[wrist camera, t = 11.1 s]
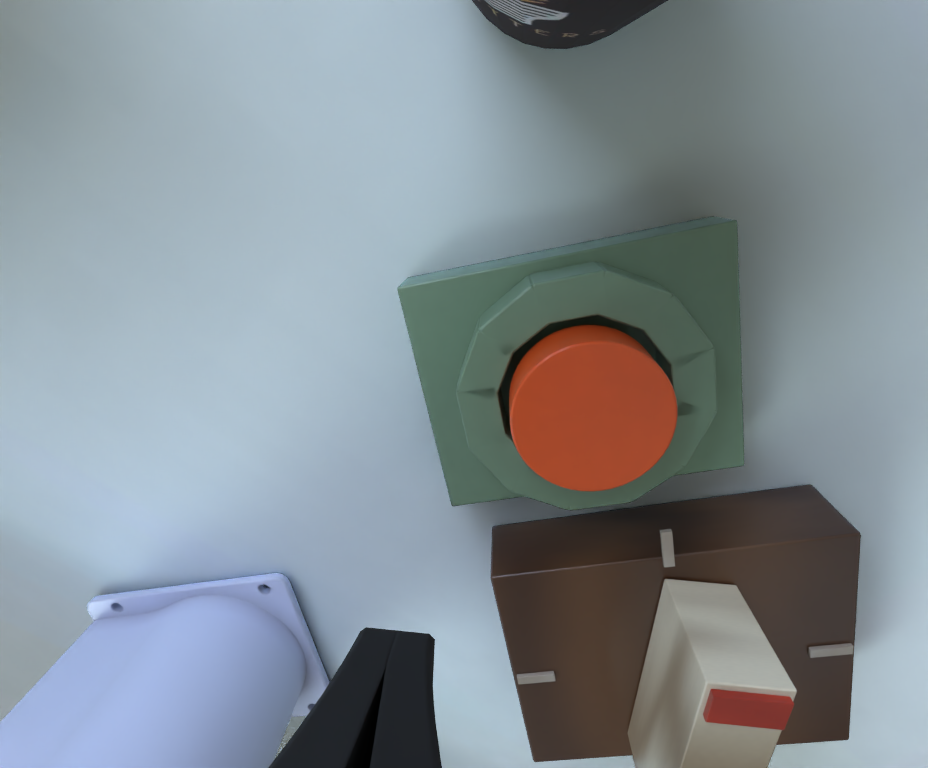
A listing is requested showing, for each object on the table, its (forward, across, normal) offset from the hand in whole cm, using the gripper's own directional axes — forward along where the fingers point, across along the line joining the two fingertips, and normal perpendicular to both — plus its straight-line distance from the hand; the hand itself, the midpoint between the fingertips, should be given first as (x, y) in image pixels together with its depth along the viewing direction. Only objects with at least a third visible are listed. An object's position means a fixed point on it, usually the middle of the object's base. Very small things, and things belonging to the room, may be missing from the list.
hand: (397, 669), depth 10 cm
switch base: (+10, -9, +7) cm, 15 cm away
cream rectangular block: (+7, -9, +7) cm, 14 cm away
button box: (+10, -4, -3) cm, 12 cm away
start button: (+7, -4, -3) cm, 9 cm away
